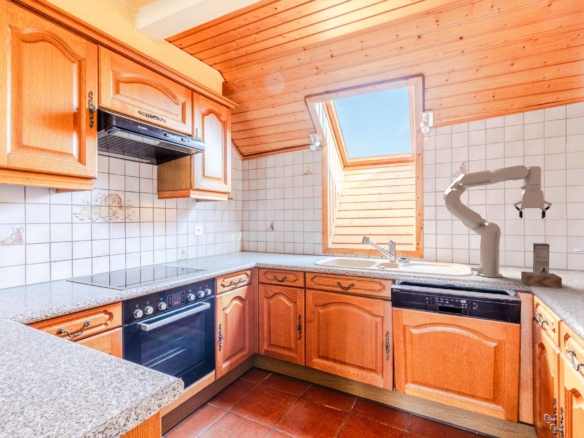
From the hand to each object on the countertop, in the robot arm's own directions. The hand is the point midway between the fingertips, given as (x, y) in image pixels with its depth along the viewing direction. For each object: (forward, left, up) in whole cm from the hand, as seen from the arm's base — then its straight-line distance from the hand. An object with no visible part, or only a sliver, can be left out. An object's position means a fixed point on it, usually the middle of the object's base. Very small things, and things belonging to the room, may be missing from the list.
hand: (531, 218), depth 175 cm
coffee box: (+1, -16, -29) cm, 34 cm away
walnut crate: (+1, -17, -34) cm, 38 cm away
